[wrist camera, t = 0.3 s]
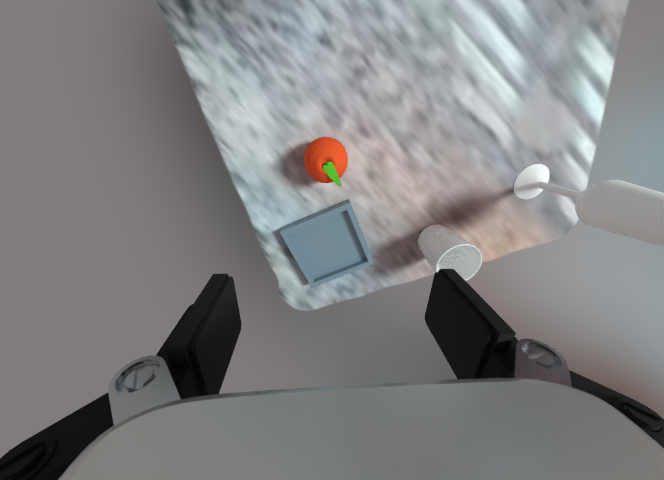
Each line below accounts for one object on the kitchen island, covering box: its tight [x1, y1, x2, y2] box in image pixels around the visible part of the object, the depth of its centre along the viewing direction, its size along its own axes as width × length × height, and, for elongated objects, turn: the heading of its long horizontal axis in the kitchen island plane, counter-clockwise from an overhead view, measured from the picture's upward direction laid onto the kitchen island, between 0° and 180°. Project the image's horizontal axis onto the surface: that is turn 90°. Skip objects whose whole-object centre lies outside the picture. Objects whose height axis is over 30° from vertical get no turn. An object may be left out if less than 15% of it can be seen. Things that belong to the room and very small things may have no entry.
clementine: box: [304, 137, 348, 186], centre depth 39 cm, size 8×7×7 cm
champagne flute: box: [514, 164, 664, 247], centre depth 36 cm, size 7×7×24 cm
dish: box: [280, 199, 375, 288], centre depth 48 cm, size 14×14×2 cm
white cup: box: [417, 224, 482, 281], centre depth 46 cm, size 8×8×10 cm
